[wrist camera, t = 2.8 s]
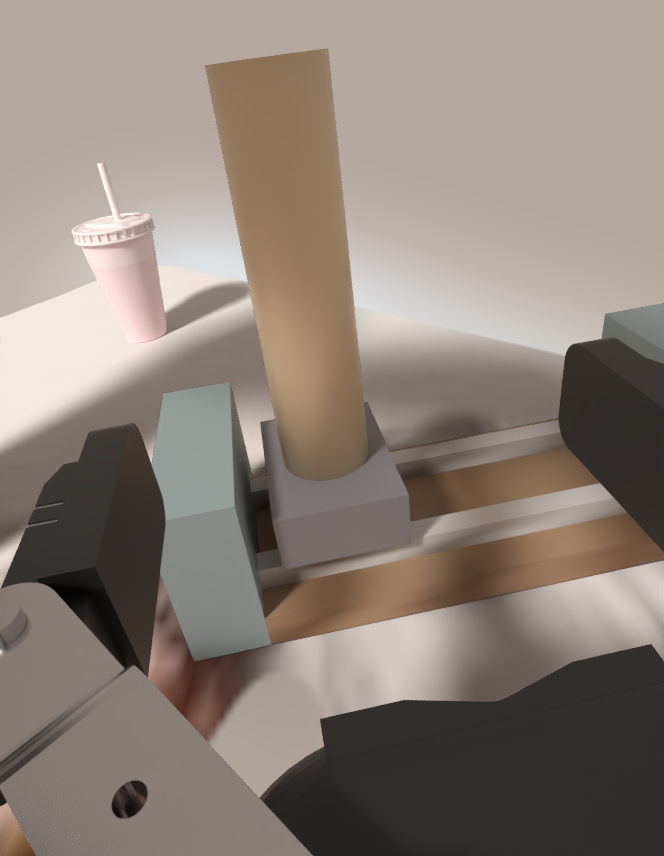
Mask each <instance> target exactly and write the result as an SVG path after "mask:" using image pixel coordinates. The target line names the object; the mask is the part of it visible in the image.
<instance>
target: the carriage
mask: <svg viewBox="0 0 664 856" xmlns="http://www.w3.org/2000/svg"><path fill="white" fill-rule="evenodd" d="M205 68H206V73H207V78H208V83H209V88H210V93H211V98H212V104H213V109H214V114H215V118H216V124H217V129H218V134H219V139H220V144H221V149H222V154H223V159H224V163H225V169H226V174H227V178H228V184H229V189H230V194H231V199H232V204H233V209H234V214H235V219H236V224H237V229H238V234H239V239H240V244H241V250H242V254H243V259H244V264H245V269H246V274H247V279H248V285H249V290H250V295H251V300H252V305H253V310H254V315H255V320H256V325H257V330H258V335H259V340H260V345H261V350H262V355H263V360H264V365H265V370H266V375H267V380H268V385H269V390H270V395H271V401H272V406H273V411H274V416H275V419H274V420H269V421H264V422H260V424H261V432H262V440H263V449H264V457H265V465H266V474H267V482H268V491H269V499H270V507H271V516H272V523H273V528H274V532H275V536H276V541H277V545H278V550H279V554H280V558H281V563H282V567H283V570H285V569H289V568H294V567H299V566H304V565H309V564H314V563H318V562H323V561H328V560H333V559H338V558H343V557H347V556H352V555H357V554H362V553H367V552H372V551H376V550H381V549H386V548H391V547H396V546H401V545H405V544H410V543H412V542H411V525H410V508H409V494H408V492H407V490H406V488H405V485H404V483H403V481H402V479H401V476H400V474H399V472H398V470H397V467H396V465H395V463H394V461H393V459H392V456H391V454H390V452H389V450H388V447H387V445H386V443H385V441H384V438H383V436H382V434H381V432H380V430H379V427H378V425H377V423H376V421H375V418H374V416H373V414H372V412H371V409H370V407H369V405H368V403H367V402H366V403H364V399H363V389H362V379H361V369H360V359H359V349H358V339H357V330H356V320H355V310H354V301H353V290H352V281H351V271H350V260H349V251H348V240H347V230H346V221H345V210H344V200H343V191H342V182H341V171H340V161H339V152H338V141H337V131H336V121H335V112H334V101H333V91H332V82H331V72H330V62H329V51H328V49H320V50H312V51H305V52H297V53H290V54H282V55H275V56H269V57H261V58H253V59H246V60H239V61H232V62H225V63H219V64H213V65H206V66H205Z"/></svg>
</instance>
